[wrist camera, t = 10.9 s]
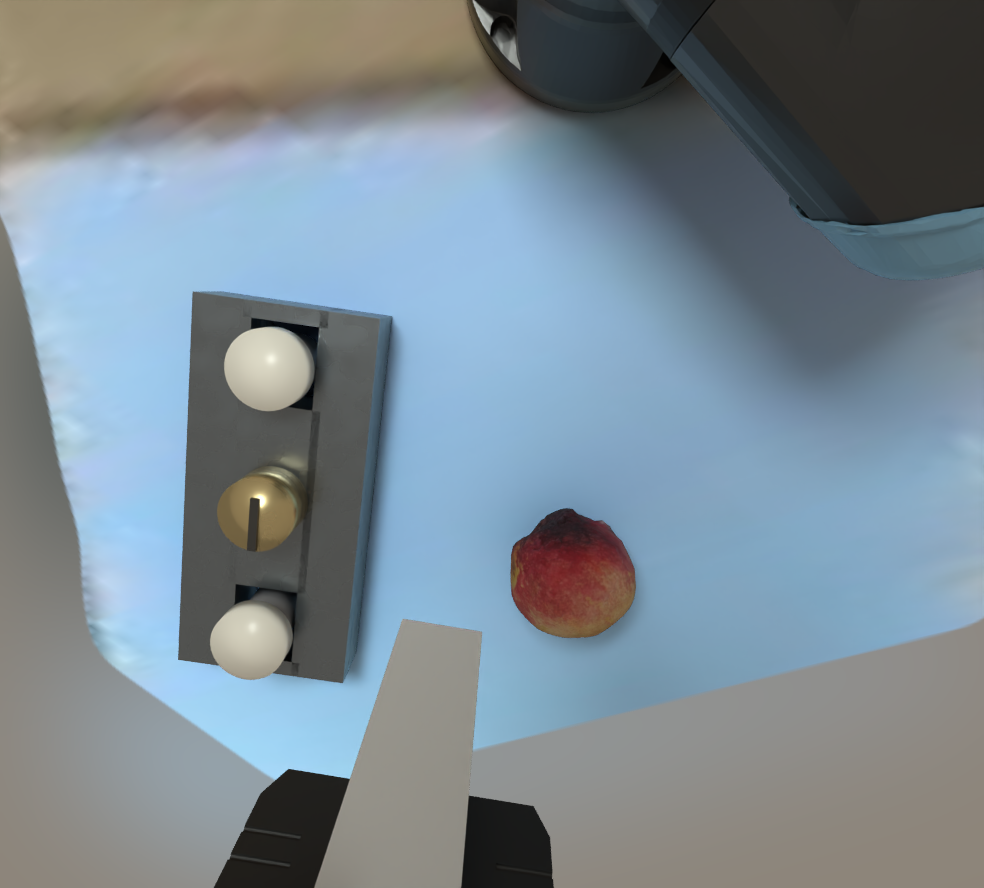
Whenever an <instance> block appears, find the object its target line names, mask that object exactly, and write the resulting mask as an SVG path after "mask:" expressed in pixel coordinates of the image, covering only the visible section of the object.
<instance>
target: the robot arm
mask: <svg viewBox="0 0 984 888" xmlns="http://www.w3.org/2000/svg"><path fill="white" fill-rule="evenodd" d="M467 4H468V8H469V12H470V15H471V18H472V22H473V25H474V27H475V30H476V32H477V34H478V36H479V39H480V41H481V43H482V45H483V46H484V48H485V50H486V51H487V53H488V55H489V56H490V57H491V59H492V60H493V62H494V63H495V64H496V66H497V67H498V68H499V69H500V70H501V71H502V72H503V74H504V75H505V76H506V77H507V78H508V79H509V80H511V81H512V82H513V83H514V84H515V85H516V86H518V87H519V88H520V89H521V90H523V91H524V92H526V93H527V94H529V95H531V96H532V97H534V98H536V99H538V100H540V101H542V102H544V103H546V104H549V105H552V106H555V107H558V108H562V109H565V110H571V111H577V112H605V111H612V110H617V109H621V108H625V107H628V106H631V105H634V104H636V103H639V102H641V101H643V100H645V99H648V98H650V97H651V96H653V95H655V94H656V93H658V92H660V91H661V90H663V89H664V88H666V87H667V86H668V85H669V84H671V83H672V82H673V81H674V80H676V79H677V78H678V77H679V76H680V75H681V74H683V75H684V77H685V78H686V79H687V80H688V81H689V82H690V83H691V85H692V86H693V87H694V88H695V89H696V90H697V91H698V92H699V94H700V95H701V96H702V97H703V98H704V99H705V100H706V102H707V103H708V104H709V105H710V106H711V107H712V108H713V110H714V111H715V112H716V113H717V114H718V115H719V116H720V118H721V119H722V120H723V121H724V122H725V123H726V124H727V125H728V127H729V128H730V129H731V130H732V131H733V132H734V133H735V135H736V136H737V137H738V138H739V139H740V140H741V141H742V143H743V144H744V145H745V146H746V147H747V148H748V149H749V151H750V152H751V153H752V154H753V155H754V156H755V157H756V158H757V160H758V161H759V162H760V163H761V164H762V165H763V166H764V168H765V169H766V170H767V171H768V172H769V173H770V174H771V176H772V177H773V178H774V179H775V180H776V181H777V182H778V184H779V185H780V186H781V187H782V188H783V189H784V190H785V191H786V193H787V194H788V195H789V196H790V199H789V202H790V205H791V207H792V209H793V210H794V212H795V213H796V214H797V216H798V217H799V218H800V219H801V220H803V221H804V222H807V223H808V224H810V225H811V226H812V227H813V228H816V229H819V230H820V231H821V232H822V233H823V234H824V235H825V236H826V237H827V238H828V239H829V240H830V242H831V243H832V244H833V245H834V246H835V247H836V248H837V249H838V250H839V251H840V252H841V253H842V254H843V255H844V256H845V257H846V258H847V259H848V260H849V261H850V262H851V263H853V264H854V265H856V266H857V267H859V268H861V269H864V270H866V271H868V272H871V273H873V274H875V275H877V276H882V277H885V278H888V279H896V280H927V279H936V278H944V277H950V276H955V275H960V274H964V273H968V272H972V271H976V270H980V269H983V268H984V0H467ZM481 640H482V632H480V631H474V630H468V629H462V628H456V627H450V626H444V625H437V624H431V623H425V622H419V621H413V620H407V619H402V622H401V625H400V628H399V631H398V634H397V637H396V641H395V644H394V647H393V650H392V653H391V656H390V659H389V662H388V665H387V668H386V671H385V674H384V677H383V680H382V683H381V686H380V689H379V692H378V695H377V698H376V701H375V704H374V708H373V711H372V714H371V717H370V720H369V723H368V726H367V729H366V732H365V735H364V738H363V741H362V744H361V747H360V750H359V753H358V756H357V759H356V762H355V765H354V768H353V771H352V775H351V778H350V779H347V778H341V777H335V776H329V775H323V774H316V773H310V772H304V771H298V770H292V769H288V770H287V771H286V772H284V773H283V774H282V775H281V776H280V777H279V778H278V779H276V780H275V781H274V782H273V783H272V784H271V785H270V786H269V787H267V788H266V789H265V790H264V791H263V792H262V793H261V794H260V796H259V798H258V800H257V802H256V804H255V806H254V808H253V810H252V812H251V814H250V816H249V818H248V820H247V822H246V824H245V827H244V831H243V832H241V834H240V836H239V838H238V840H237V842H236V844H235V846H234V848H233V850H232V852H231V856H230V859H229V860H227V862H226V864H225V867H224V869H223V870H222V873H221V874H220V876H219V878H218V881H217V882H216V884H215V886H214V888H554V887H553V879H552V860H551V846H550V837H549V835H548V833H547V831H546V829H545V827H544V825H543V823H542V822H541V820H540V818H539V816H538V814H537V812H536V810H535V808H534V806H529V805H523V804H517V803H511V802H504V801H498V800H492V799H486V798H480V797H474V796H469V785H470V774H471V773H470V772H471V761H472V749H473V737H474V725H475V713H476V701H477V688H478V676H479V664H480V652H481Z"/></svg>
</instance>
